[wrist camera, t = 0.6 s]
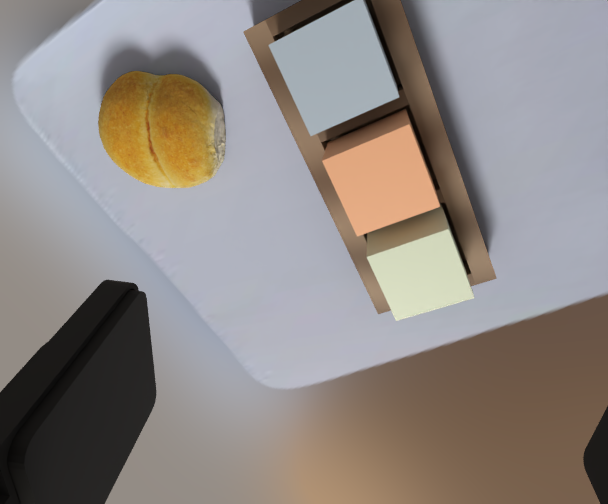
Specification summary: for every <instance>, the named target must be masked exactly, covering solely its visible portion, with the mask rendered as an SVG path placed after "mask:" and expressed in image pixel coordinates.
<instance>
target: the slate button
mask: <svg viewBox="0 0 608 504" xmlns="http://www.w3.org/2000/svg"><path fill="white" fill-rule="evenodd" d="M269 48H270V50H271V52H272V54H273V56H274V58H275V61H276V63H277V65H278V67H279V69H280V71H281V73H282V76H283V78H284V80H285V82H286V84H287V86H288V89H289V91H290V93H291V95H292V97H293V99H294V102H295V104H296V106H297V108H298V110H299V112H300V115H301V117H302V119H303V121H304V123H305V125H306V127H307V130H308V132H309V134H310V136H313V135H315V134H317V133H319V132H322V131H324V130H326V129H328V128H331V127H333V126H335V125H338V124H340V123H342V122H344V121H347V120H349V119H351V118H353V117H356V116H358V115H360V114H362V113H365V112H367V111H369V110H372V109H374V108H376V107H378V106H381V105H383V104H385V103H387V102H390V101H392V100H394V99H396V98H399V93H398V89H397V84H396V82H395V79H394V76H393V74H392V71H391V68H390V65H389V63H388V60H387V57H386V55H385V52H384V49H383V47H382V44H381V41H380V39H379V36H378V33H377V31H376V28H375V25H374V23H373V20H372V17H371V14H370V12H369V9H368V6H367V4H366V1H365V0H354V1H352V2H350V3H348V4H346V5H344V6H342V7H340V8H339V9H337V10H335V11H333V12H331V13H329V14H327V15H325V16H323V17H321V18H319V19H317V20H316V21H314V22H312V23H310V24H308V25H306V26H304V27H302V28H300V29H298V30H296V31H294V32H292V33H291V34H289V35H287V36H285V37H283V38H281V39H279V40H277V41H275V42H273V43H271V44H269Z"/></svg>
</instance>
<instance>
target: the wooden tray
mask: <svg viewBox="0 0 608 504" xmlns="http://www.w3.org/2000/svg"><path fill="white" fill-rule="evenodd" d="M352 1H354V0H301V1H299V2H297V3H296V4H294V5H292V6H290V7H288V8H286V9H285V10H283V11H281V12H279V13H277V14H275V15H273V16H272V17H270V18H268V19H266V20H264V21H262V22H260V23H259V24H257V25H255V26H253V27H251V28H249V29H248V30H246V31H244V34H245V36H246V38H247V41H248V43H249V45H250V47H251V49H252V51H253V53H254V55H255V57H256V59H257V61H258V64H259V66H260V68H261V70H262V72H263V74H264V76H265V78H266V80H267V82H268V84H269V87H270V89H271V91H272V93H273V95H274V97H275V99H276V101H277V103H278V105H279V107H280V110H281V112H282V114H283V116H284V118H285V120H286V122H287V124H288V126H289V128H290V130H291V133H292V135H293V137H294V139H295V141H296V143H297V145H298V147H299V149H300V151H301V153H302V156H303V158H304V160H305V162H306V164H307V166H308V168H309V170H310V172H311V174H312V176H313V179H314V181H315V183H316V185H317V187H318V189H319V191H320V193H321V195H322V197H323V199H324V202H325V204H326V206H327V208H328V210H329V212H330V214H331V216H332V218H333V220H334V222H335V225H336V227H337V229H338V231H339V233H340V235H341V237H342V239H343V241H344V243H345V245H346V248H347V250H348V252H349V254H350V256H351V258H352V260H353V262H354V264H355V266H356V269H357V271H358V273H359V275H360V277H361V279H362V281H363V283H364V285H365V287H366V289H367V292H368V294H369V296H370V298H371V300H372V302H373V304H374V306H375V308H376V310H377V312H378V314H380V313H384V312H387V311H390V310H391V309H390V307H389V304H388V302H387V300H386V298H385V296H384V294H383V291H382V289H381V287H380V285H379V283H378V281H377V279H376V276H375V274H374V272H373V270H372V268H371V266H370V263H369V261H368V259H367V233H366V234H363V235H360V236H357V235H356V233H355V231H354V229H353V227H352V225H351V222H350V220H349V218H348V216H347V214H346V212H345V209H344V207H343V205H342V203H341V201H340V199H339V197H338V194H337V192H336V190H335V188H334V186H333V184H332V181H331V179H330V177H329V175H328V173H327V171H326V168H325V166H324V164H323V162H322V159H323V156H324V153H325V150H326V147H327V143H328V142H330V141H332V140H335V139H337V138H339V137H341V136H344V135H346V134H348V133H351V132H353V131H355V130H358V129H360V128H362V127H365V126H367V125H369V124H372V123H374V122H376V121H379V120H381V119H383V118H385V117H388V116H390V115H392V114H395V113H397V112H399V111H402V110H404V109H406V111H407V114H408V116H409V119H410V122H411V125H412V127H413V130H414V133H415V135H416V138H417V141H418V143H419V146H420V149H421V151H422V154H423V157H424V159H425V162H426V165H427V167H428V170H429V173H430V175H431V178H432V181H433V184H434V187H435V190H436V194H437V197H438V200H439V204H441V205H442V208H443V210H444V213H445V216H446V218H447V221H448V224H449V226H450V229H451V232H452V235H453V237H454V240H455V243H456V245H457V248H458V251H459V253H460V256H461V259H462V261H463V264H464V267H465V270H466V273H467V276H468V279H469V282H470V285H471V286H473V285H477V284H480V283H483V282H486V281H490V280H493V279H496V275H495V272H494V269H493V267H492V264H491V261H490V258H489V255H488V252H487V249H486V246H485V243H484V240H483V238H482V235H481V232H480V229H479V226H478V223H477V220H476V217H475V214H474V212H473V209H472V206H471V203H470V200H469V197H468V194H467V191H466V188H465V185H464V183H463V180H462V177H461V174H460V171H459V168H458V165H457V162H456V159H455V157H454V154H453V151H452V148H451V145H450V142H449V139H448V136H447V133H446V130H445V128H444V125H443V122H442V119H441V116H440V113H439V110H438V107H437V104H436V102H435V99H434V96H433V93H432V90H431V87H430V84H429V81H428V78H427V75H426V73H425V70H424V67H423V64H422V61H421V58H420V55H419V52H418V49H417V47H416V44H415V41H414V38H413V35H412V32H411V29H410V26H409V23H408V20H407V18H406V15H405V12H404V9H403V6H402V3H401V0H365V1H366V4H367V6H368V9H369V12H370V14H371V17H372V20H373V23H374V25H375V28H376V31H377V33H378V36H379V39H380V41H381V44H382V47H383V49H384V52H385V55H386V57H387V60H388V63H389V65H390V68H391V71H392V74H393V76H394V79H395V82H396V84H397V89H398V93H399V98H396V99H394V100H392V101H390V102H387V103H385V104H383V105H381V106H378V107H376V108H374V109H372V110H369V111H367V112H365V113H362V114H360V115H358V116H356V117H353V118H351V119H349V120H347V121H344V122H342V123H340V124H338V125H335V126H333V127H331V128H328V129H326V130H324V131H322V132H319V133H317V134H315V135H313V136H310V134H309V132H308V130H307V127H306V125H305V123H304V121H303V119H302V117H301V115H300V112H299V110H298V108H297V106H296V104H295V102H294V99H293V97H292V95H291V93H290V91H289V89H288V86H287V84H286V82H285V80H284V78H283V76H282V73H281V71H280V69H279V67H278V65H277V63H276V61H275V58H274V56H273V54H272V52H271V50H270V48H269V44H271V43H273V42H275V41H277V40H279V39H281V38H283V37H285V36H287V35H289V34H291V33H292V32H294V31H296V30H298V29H300V28H302V27H304V26H306V25H308V24H310V23H312V22H314V21H316V20H317V19H319V18H321V17H323V16H325V15H327V14H329V13H331V12H333V11H335V10H337V9H339V8H340V7H342V6H344V5H346V4H348V3H350V2H352Z"/></svg>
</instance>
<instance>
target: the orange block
mask: <svg viewBox="0 0 608 504" xmlns="http://www.w3.org/2000/svg"><path fill="white" fill-rule="evenodd" d="M322 162H323V164H324V166H325V168H326V171H327V173H328V175H329V177H330V179H331V181H332V184H333V186H334V188H335V190H336V192H337V194H338V197H339V199H340V201H341V203H342V205H343V207H344V209H345V212H346V214H347V216H348V218H349V220H350V222H351V225H352V227H353V229H354V231H355V233H356V235H357V236H360V235H363V234H366V233H369V232H371V231H374V230H377V229H380V228H382V227H385V226H388V225H391V224H394V223H396V222H399V221H402V220H405V219H408V218H410V217H413V216H416V215H419V214H421V213H424V212H427V211H430V210H433V209H435V208H438V207H440V204H439V200H438V197H437V194H436V190H435V187H434V184H433V181H432V178H431V175H430V173H429V170H428V167H427V165H426V162H425V159H424V157H423V154H422V151H421V149H420V146H419V143H418V141H417V138H416V135H415V133H414V130H413V127H412V125H411V122H410V119H409V116H408V114H407V111H406V109H404V110H402V111H399V112H397V113H395V114H392V115H390V116H388V117H385V118H383V119H381V120H379V121H376V122H374V123H372V124H369V125H367V126H365V127H362V128H360V129H358V130H355V131H353V132H351V133H348V134H346V135H344V136H341V137H339V138H337V139H335V140H332V141H330V142H328V143H327V147H326V150H325V153H324V156H323V159H322Z"/></svg>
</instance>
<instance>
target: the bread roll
mask: <svg viewBox="0 0 608 504" xmlns="http://www.w3.org/2000/svg"><path fill="white" fill-rule="evenodd" d="M98 124H99V134H100V138H101V140H102V143H103V146H104V148H105V150H106V152H107V153H108V155H109V156H110V158H111V159H112V160H113V161H114V162H115V163H116V164H117V165H118V166H119V167H120V168H121V169H122V170H124V171H125V172H126V173H128V174H129V175H130V176H132V177H134V178H135V179H137V180H139V181H141V182H143V183H145V184H149V185H153V186H157V187H166V188H189V187H193V186H196V185H199V184H201V183H204V182H206V181H208V180H209V179H210V178H212V177H213V176H214V175H215V174H216V172H217V170H218V169H219V167H220V165H221V163H222V162H223V160H224V155H225V140H226V134H225V124H224V115H223V109H222V107H221V105H220V103H219V102H218V101H217V100H216V99H215V98H214V97H213V96H212V95H211V94H210V93H209V92H208V91H207V90H206V89H205V88H204V87H203V86H202V85H201V84H199V83H198V82H197V81H195V80H192V79H190V78H188V77H185V76H183V75H178V74H168V75H153V74H150V73H147V72H141V71H132V72H129V73H126V74H124V75H122V76H120V77H119V78H118V79H117V80H116V81H115V82H114V83H113V84H112V85H111V87H110V88H109V89H108V91H107V92H106V94H105V96H104V97H103V101H102V104H101V108H100V112H99V121H98Z"/></svg>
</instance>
